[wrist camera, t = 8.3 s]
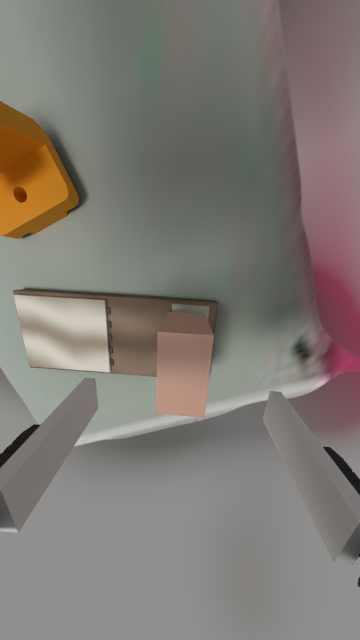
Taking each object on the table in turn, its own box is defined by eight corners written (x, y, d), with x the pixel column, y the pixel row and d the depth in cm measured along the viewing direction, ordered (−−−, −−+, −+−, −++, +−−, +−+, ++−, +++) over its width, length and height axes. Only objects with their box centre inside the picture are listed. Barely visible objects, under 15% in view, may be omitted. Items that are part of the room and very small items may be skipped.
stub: (167, 311, 22) (157, 331, 15) (205, 313, 22) (214, 335, 15) (165, 369, 25) (155, 413, 17) (199, 372, 25) (204, 417, 17)
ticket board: (23, 289, 24) (9, 290, 22) (215, 301, 23) (218, 303, 22) (38, 362, 28) (27, 369, 26) (207, 374, 27) (208, 382, 25)
